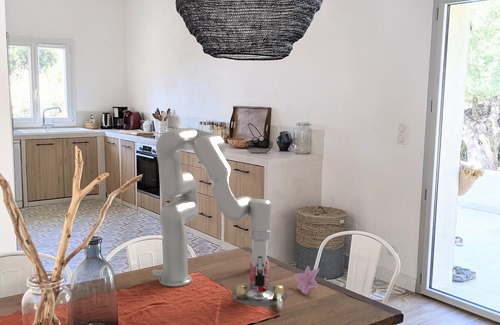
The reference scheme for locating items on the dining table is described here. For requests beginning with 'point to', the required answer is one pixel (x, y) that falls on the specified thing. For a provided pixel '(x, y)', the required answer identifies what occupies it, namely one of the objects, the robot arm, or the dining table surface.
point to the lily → (306, 279)
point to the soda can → (266, 278)
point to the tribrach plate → (255, 296)
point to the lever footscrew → (278, 295)
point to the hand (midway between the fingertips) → (259, 281)
